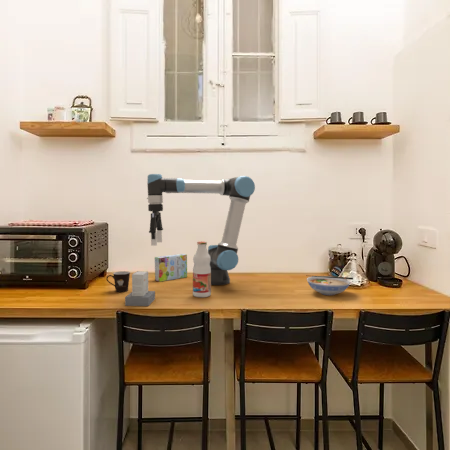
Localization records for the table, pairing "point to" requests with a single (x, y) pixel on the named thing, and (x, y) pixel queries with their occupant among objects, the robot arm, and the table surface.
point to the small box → (140, 283)
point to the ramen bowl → (329, 284)
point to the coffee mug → (120, 280)
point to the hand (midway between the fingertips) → (156, 243)
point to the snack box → (170, 267)
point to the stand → (140, 299)
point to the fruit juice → (201, 271)
